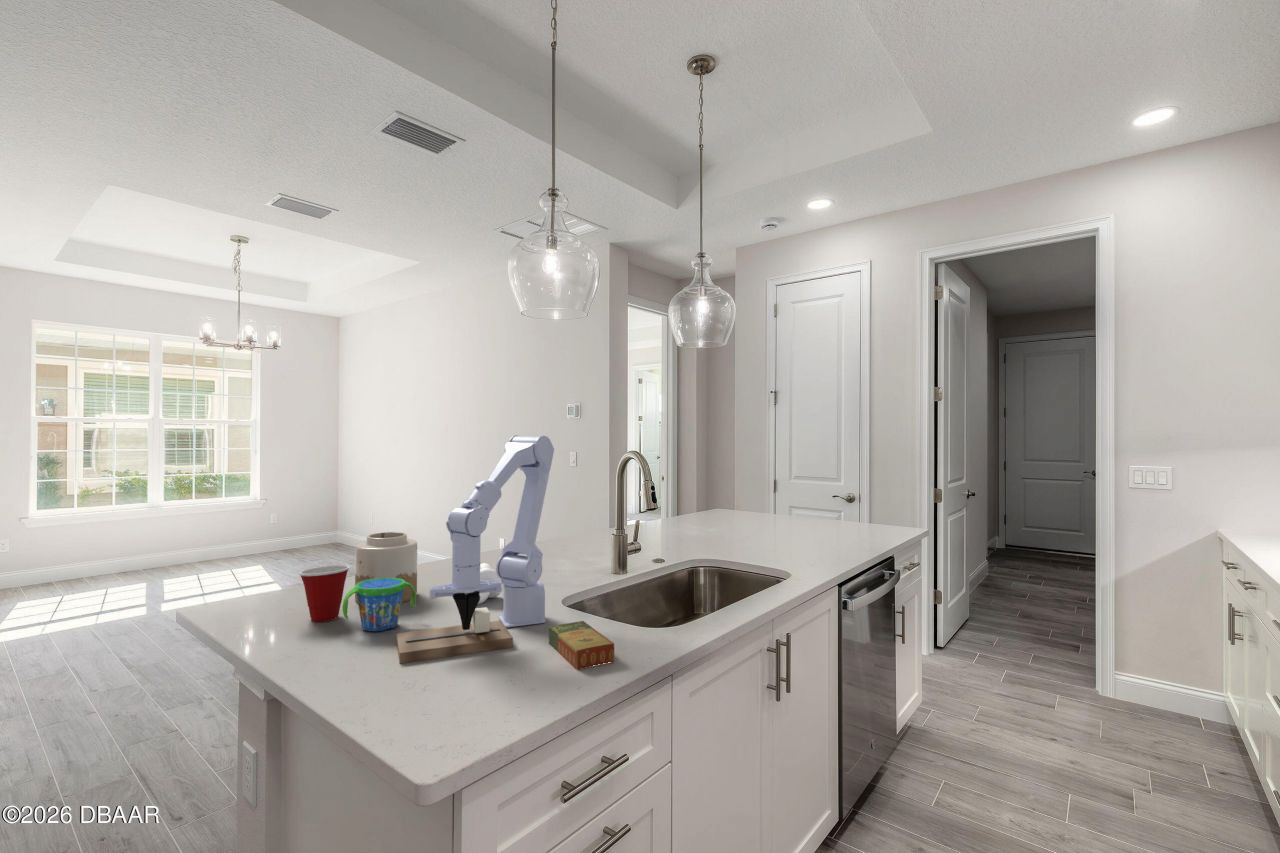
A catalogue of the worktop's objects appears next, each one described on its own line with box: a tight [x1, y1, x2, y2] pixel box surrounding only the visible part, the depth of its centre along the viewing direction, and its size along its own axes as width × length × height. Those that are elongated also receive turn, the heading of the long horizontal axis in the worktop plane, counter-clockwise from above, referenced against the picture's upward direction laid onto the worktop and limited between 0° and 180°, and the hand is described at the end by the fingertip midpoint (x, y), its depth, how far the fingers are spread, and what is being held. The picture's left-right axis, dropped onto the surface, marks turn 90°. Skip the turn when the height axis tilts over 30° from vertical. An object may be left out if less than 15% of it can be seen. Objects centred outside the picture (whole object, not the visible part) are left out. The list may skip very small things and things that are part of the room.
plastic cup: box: [298, 564, 350, 623], centre depth 144 cm, size 11×11×12 cm
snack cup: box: [342, 578, 417, 632], centre depth 138 cm, size 16×10×10 cm
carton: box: [548, 620, 615, 670], centre depth 124 cm, size 8×16×4 cm, turn 28°
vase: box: [354, 531, 418, 604], centre depth 161 cm, size 15×15×17 cm
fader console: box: [396, 620, 514, 664], centre depth 127 cm, size 22×12×2 cm, turn 114°
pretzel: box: [477, 562, 504, 605], centre depth 160 cm, size 11×12×9 cm
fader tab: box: [471, 606, 491, 633], centre depth 129 cm, size 3×4×4 cm
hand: (465, 628), depth 128 cm, fingers closed
